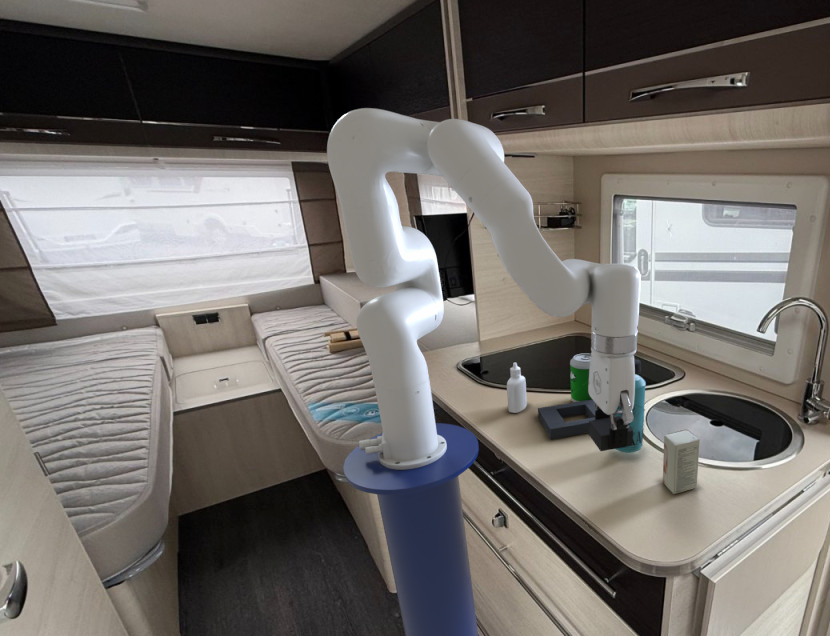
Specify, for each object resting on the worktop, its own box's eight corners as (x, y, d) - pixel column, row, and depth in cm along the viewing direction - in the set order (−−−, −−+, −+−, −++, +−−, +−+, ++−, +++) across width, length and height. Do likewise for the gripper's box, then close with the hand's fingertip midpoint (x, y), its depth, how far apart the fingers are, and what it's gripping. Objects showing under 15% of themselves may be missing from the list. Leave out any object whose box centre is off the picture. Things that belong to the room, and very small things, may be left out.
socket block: (550, 439, 101) (550, 429, 100) (538, 417, 111) (537, 407, 110) (614, 427, 106) (614, 418, 105) (597, 407, 116) (597, 398, 115)
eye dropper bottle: (503, 408, 115) (499, 363, 111) (523, 402, 118) (520, 358, 114) (512, 414, 112) (508, 368, 108) (532, 408, 115) (530, 363, 111)
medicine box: (684, 475, 88) (688, 428, 85) (697, 488, 85) (702, 439, 81) (660, 481, 87) (663, 433, 83) (672, 495, 83) (676, 445, 79)
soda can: (605, 398, 121) (605, 354, 116) (592, 410, 114) (592, 364, 110) (579, 393, 124) (578, 350, 119) (565, 404, 117) (564, 359, 113)
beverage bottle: (610, 444, 99) (611, 355, 92) (641, 443, 100) (644, 354, 93) (612, 460, 93) (614, 366, 86) (645, 459, 94) (650, 366, 86)
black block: (600, 451, 80) (601, 436, 78) (588, 435, 85) (588, 420, 84) (632, 445, 82) (633, 430, 81) (619, 430, 87) (619, 415, 86)
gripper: (575, 328, 83) (575, 419, 89) (612, 361, 68) (608, 467, 74) (614, 325, 85) (611, 414, 92) (659, 356, 70) (651, 459, 77)
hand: (610, 437), depth 83 cm, fingers closed on black block, 6 cm apart
